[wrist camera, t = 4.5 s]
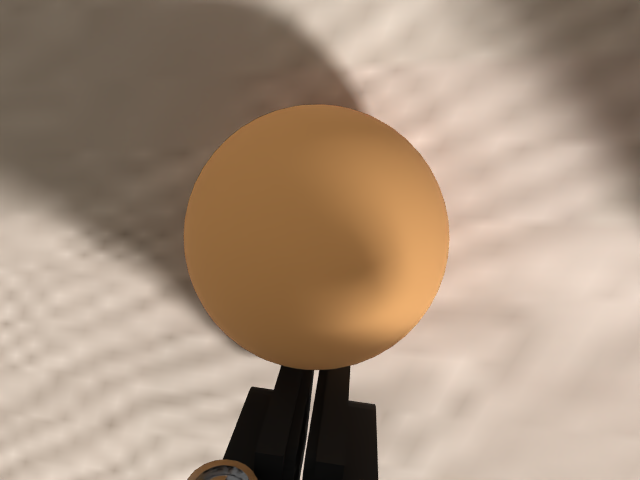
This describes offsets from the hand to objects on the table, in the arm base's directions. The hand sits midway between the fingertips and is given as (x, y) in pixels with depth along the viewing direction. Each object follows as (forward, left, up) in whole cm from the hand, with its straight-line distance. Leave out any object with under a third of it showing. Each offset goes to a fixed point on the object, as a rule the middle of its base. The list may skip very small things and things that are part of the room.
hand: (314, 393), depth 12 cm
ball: (+5, 0, +1) cm, 5 cm away
